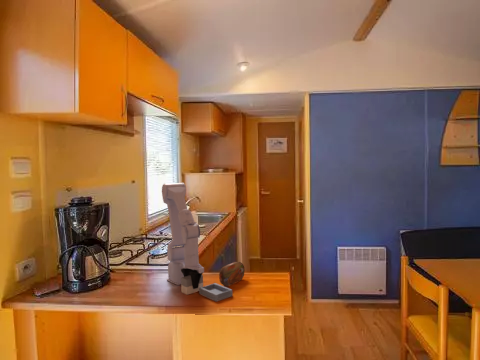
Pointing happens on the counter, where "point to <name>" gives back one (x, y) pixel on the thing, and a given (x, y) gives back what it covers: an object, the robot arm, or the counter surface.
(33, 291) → the counter surface
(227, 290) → the grey rectangular tray
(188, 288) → the block
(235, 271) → the tin
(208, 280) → the counter surface
